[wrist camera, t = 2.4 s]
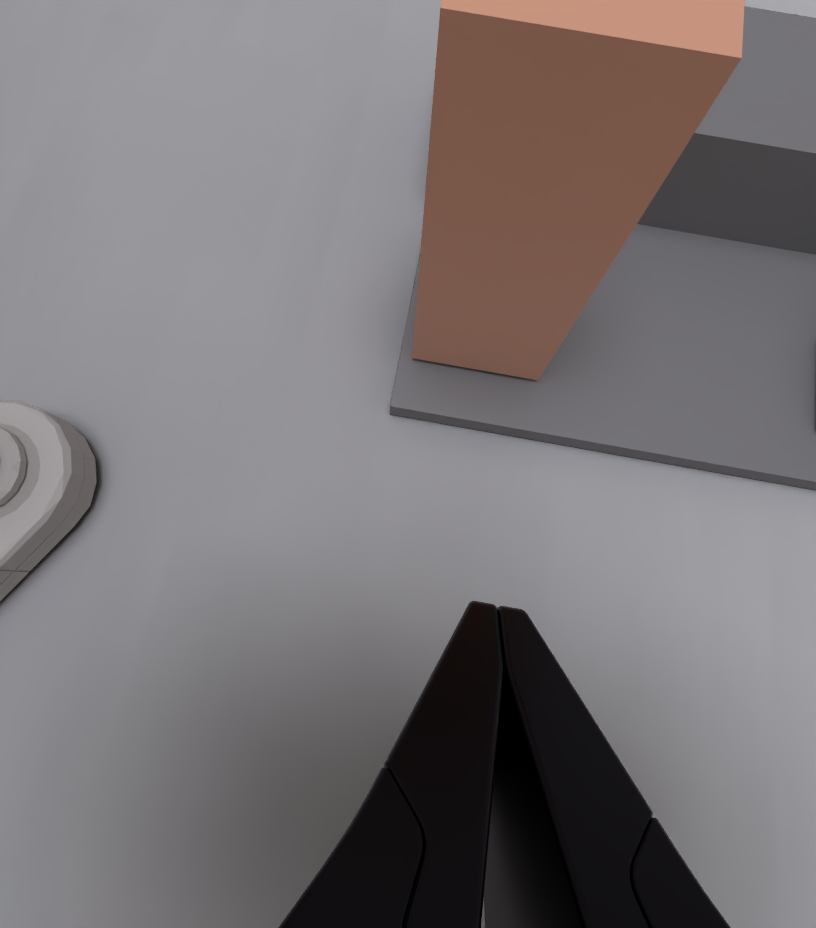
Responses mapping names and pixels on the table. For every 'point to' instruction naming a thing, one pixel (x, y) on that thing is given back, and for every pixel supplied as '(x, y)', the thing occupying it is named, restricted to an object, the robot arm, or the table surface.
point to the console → (687, 300)
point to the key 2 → (551, 159)
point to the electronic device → (38, 486)
